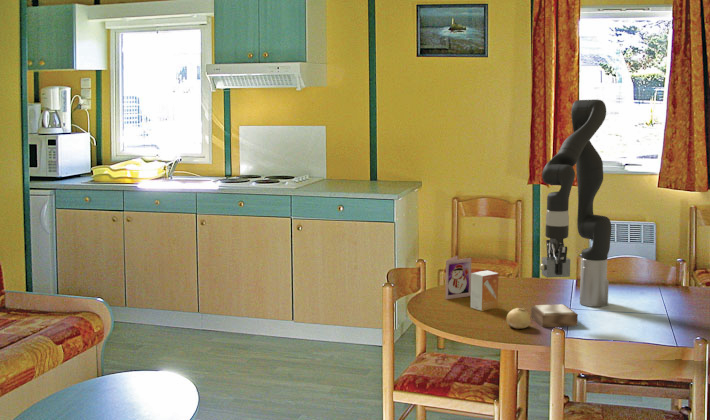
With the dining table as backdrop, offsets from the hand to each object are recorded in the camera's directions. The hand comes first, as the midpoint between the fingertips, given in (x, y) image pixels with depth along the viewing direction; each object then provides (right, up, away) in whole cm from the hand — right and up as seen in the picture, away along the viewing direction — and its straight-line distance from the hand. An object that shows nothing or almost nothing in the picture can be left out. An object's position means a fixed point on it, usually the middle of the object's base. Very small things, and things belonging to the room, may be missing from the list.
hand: (555, 272), depth 272 cm
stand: (0, -17, +3) cm, 17 cm away
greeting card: (-30, -12, +37) cm, 49 cm away
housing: (0, -1, 0) cm, 1 cm away
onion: (-13, -18, -4) cm, 23 cm away
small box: (-21, -15, +20) cm, 33 cm away
